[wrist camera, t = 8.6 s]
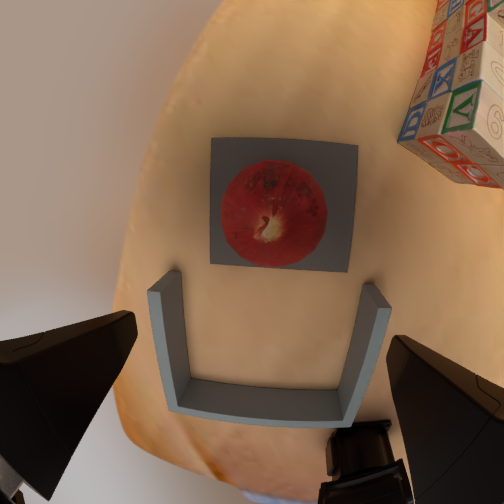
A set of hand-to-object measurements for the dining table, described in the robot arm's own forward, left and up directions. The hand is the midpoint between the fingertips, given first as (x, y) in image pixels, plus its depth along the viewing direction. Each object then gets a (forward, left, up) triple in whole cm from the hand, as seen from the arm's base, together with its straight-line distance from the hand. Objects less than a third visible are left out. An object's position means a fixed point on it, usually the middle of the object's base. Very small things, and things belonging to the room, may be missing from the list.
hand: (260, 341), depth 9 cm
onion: (0, -3, -11) cm, 12 cm away
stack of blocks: (-15, -17, -12) cm, 26 cm away
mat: (0, -3, -12) cm, 12 cm away
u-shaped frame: (0, +8, -12) cm, 14 cm away
